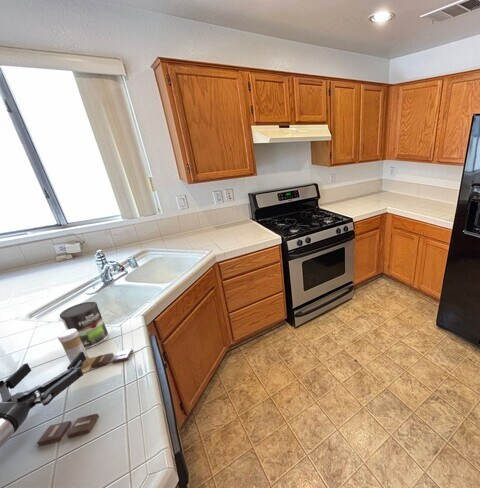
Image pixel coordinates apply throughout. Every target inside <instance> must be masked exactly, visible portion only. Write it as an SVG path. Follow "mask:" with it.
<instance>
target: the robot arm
mask: <svg viewBox="0 0 480 488" xmlns="http://www.w3.org/2000/svg"><path fill="white" fill-rule="evenodd" d="M85 360H86V357H85V355H84V352H80V353H79V354H78V355H77V356H76V358H75V359H74V360H73V361H72V362H70V363H69V365H68V366H67V367H66V369H67V370H65V371H63V372H61V373H60V374H58V375H56V376H54V377H53V378H51V379H50V380H48V381H46V382H44V383H43V384H41V385H36V386H34V387H33V388H31V389H29V390H25V391H19V392H16V393H15V394H13V395H12V394H11V392H10V390H12V389H15V388H16V387H17V386H18V385H19V384H20V383H21V382H22V380H24V379H25V378H26V377H27V376H28V375H29V374H30V372H32V369H31V367H30V365H29V364H28V362H26V363H23V364H22V365H21V366H20V367H19V368H18V369H17V370H16V371H15V372H14V373H12V374H11V375H10V376H8V377H7V379H5V380H0V397H1V400H2V401H1V402H0V450H2V448H3V447H4V446H5V444H6V443H7V442H8V441H9V440H10V439H11V437H12V436H13V435H14V434H15V433H16V432H17V430H18V429H20V427H21V426H22V425H23V423H24V422H25V421H26V420H27V418H28V415H29V412H30V410H31V409H33V408H34V407H36V405H40V404H42V406H44V407H45V406H47V405H48V406H49V404H50V403H51V402H52V401H53V400H54V399H55V398H56V397H57V396H58V395H60V394H61V393H62V392H64V391H65V390H67V388H69V387H70V386H71V385H72V384H74V383H75V382H77V381H78V380H79V379H81V378H82V377H83V376H84V372H82V370H81V367H82V366H83V362H84V361H85ZM36 392H38V394H39V395H38V396H37V393H36Z"/></svg>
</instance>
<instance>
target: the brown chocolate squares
mask: <svg viewBox="0 0 480 488" xmlns="http://www.w3.org/2000/svg"><path fill="white" fill-rule="evenodd" d="M99 418H100V416H99V414H98V413H93V414H89V415H85V416H81V417H78V418H76V420H75V422H74V423H73V422H72V421H71V420H67V421H63V422H59V423H55V424H50V425H49V426H48V427H47V428H46V430H45V431H44V432H43V434H42V436H40V438H39V439H38V441H37V442H36V444H37V446H38V447H41V446H45V445H49V444H53V443H56V442H60V441H62V439H63V438H64V437H65V435H66V437H67V438H68V439H71V438H75V437H78V436H83V435H86V434H90V433H91V431H92V430H93V428H94V426H95V424H96V423H97V421H98V419H99ZM69 429H70V430H69ZM68 430H69V431H68ZM67 432H68V433H67ZM66 433H67V434H66Z"/></svg>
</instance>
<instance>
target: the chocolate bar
mask: <svg viewBox="0 0 480 488" xmlns="http://www.w3.org/2000/svg"><path fill="white" fill-rule="evenodd" d="M133 352H134V350H133V348H129V349H123V350H119V351H117V352H116V353H115V355H114V353H113V352H109V353H106V354H100V355H97V356H93V357H88V358H89V360H90V364H89V365H88V366H86V367H85V368H83V369H81V370H82V372H83V373H88V372H90V370H91V369H93V368H94V369H95V368H98V367H102V366H108V365H109V363H110V362H112V364H117V363H121V362H126V361H129V359H130V358H131V355H132V354H133Z"/></svg>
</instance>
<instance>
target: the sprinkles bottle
mask: <svg viewBox="0 0 480 488" xmlns="http://www.w3.org/2000/svg"><path fill="white" fill-rule="evenodd" d="M57 339H58V342H59V343H60V344H61V346H62V348H63V350H64V352H65V354H66V357H67V359H68V361H69V362H70V363H71V362H72V361H73V360H74V359H75V358H76V356H77V355H78V354H79V353H80V352H84V355H85V357H86V360H85V361H84V362H83V366H82V367H81V369H83V368H85V367H86V366H88V365H89V364H90V360H89V358H90V357H89V356H88V353H87V349H85V348H84V346H83V344H82V342H81V340H80V338H79V336H78V331H77V330H76V329H69V330H67V329H66V330H64V331H62V332H60V333H59V334H58V335H57Z"/></svg>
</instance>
